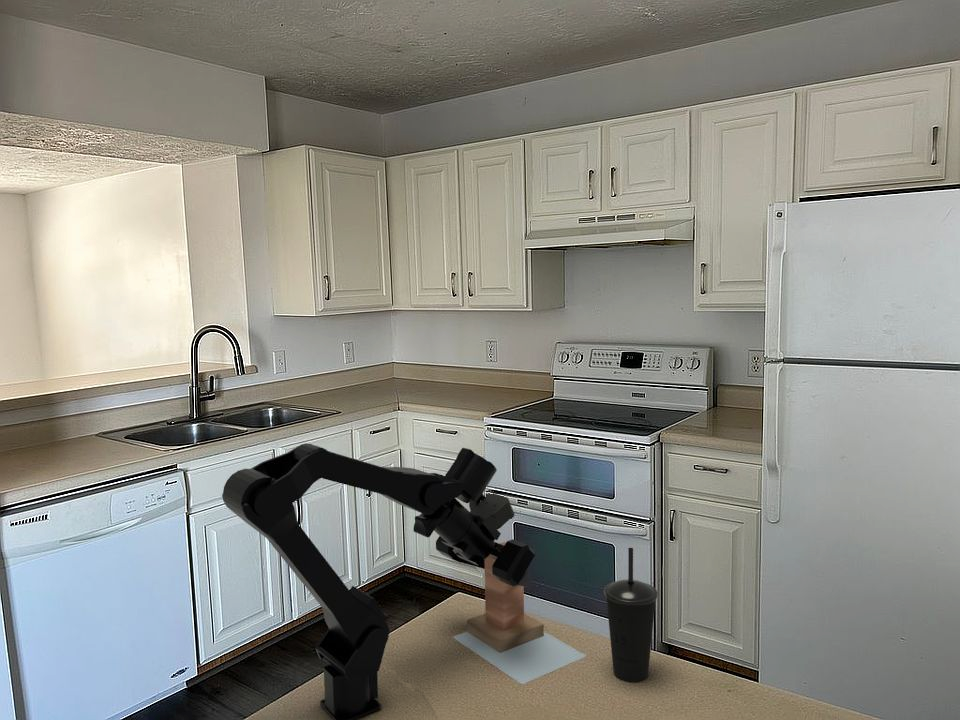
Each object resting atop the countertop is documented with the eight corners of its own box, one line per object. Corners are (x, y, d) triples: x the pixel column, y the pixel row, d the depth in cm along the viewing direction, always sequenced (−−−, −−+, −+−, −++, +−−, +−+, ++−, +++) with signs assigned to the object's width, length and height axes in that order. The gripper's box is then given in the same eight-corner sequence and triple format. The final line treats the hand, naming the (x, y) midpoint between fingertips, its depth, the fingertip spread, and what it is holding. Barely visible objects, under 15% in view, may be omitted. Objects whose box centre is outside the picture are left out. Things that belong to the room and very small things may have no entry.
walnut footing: (500, 652, 113) (500, 640, 113) (467, 631, 120) (466, 620, 120) (543, 635, 118) (543, 624, 118) (509, 616, 125) (509, 605, 125)
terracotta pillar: (503, 631, 116) (502, 555, 114) (485, 621, 119) (484, 548, 118) (524, 622, 119) (523, 548, 117) (505, 613, 122) (504, 541, 121)
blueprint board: (522, 690, 104) (522, 684, 104) (452, 642, 118) (452, 636, 118) (587, 662, 111) (587, 655, 111) (514, 620, 126) (513, 614, 126)
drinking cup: (612, 661, 111) (612, 536, 109) (662, 672, 108) (663, 543, 106) (597, 686, 105) (597, 553, 103) (650, 699, 101) (651, 561, 99)
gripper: (525, 494, 107) (575, 548, 115) (448, 471, 121) (498, 521, 129) (485, 559, 102) (541, 610, 111) (410, 527, 117) (464, 575, 125)
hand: (510, 575), depth 119 cm, fingers open, 9 cm apart
